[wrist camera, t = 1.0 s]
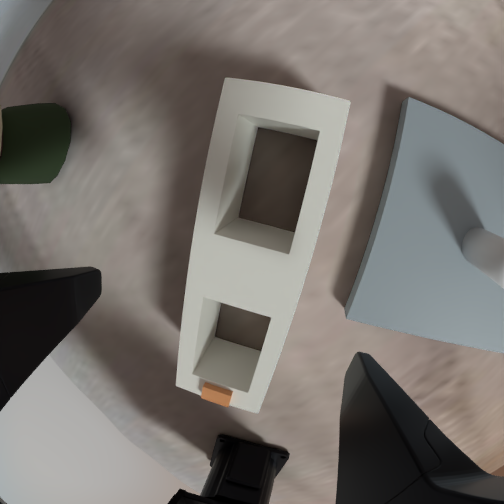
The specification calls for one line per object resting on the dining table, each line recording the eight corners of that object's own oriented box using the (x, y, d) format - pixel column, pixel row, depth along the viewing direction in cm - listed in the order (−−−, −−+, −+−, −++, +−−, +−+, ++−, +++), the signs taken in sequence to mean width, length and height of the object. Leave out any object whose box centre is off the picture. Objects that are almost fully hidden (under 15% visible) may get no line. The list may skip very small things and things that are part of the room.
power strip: (341, 118, 13) (351, 98, 9) (269, 371, 18) (256, 418, 14) (247, 98, 14) (222, 74, 10) (199, 349, 19) (172, 390, 15)
